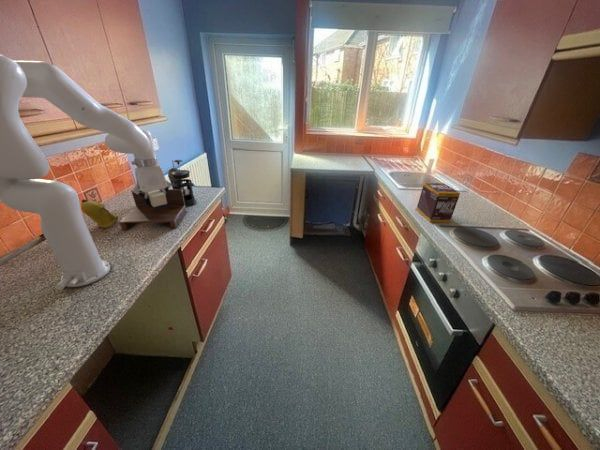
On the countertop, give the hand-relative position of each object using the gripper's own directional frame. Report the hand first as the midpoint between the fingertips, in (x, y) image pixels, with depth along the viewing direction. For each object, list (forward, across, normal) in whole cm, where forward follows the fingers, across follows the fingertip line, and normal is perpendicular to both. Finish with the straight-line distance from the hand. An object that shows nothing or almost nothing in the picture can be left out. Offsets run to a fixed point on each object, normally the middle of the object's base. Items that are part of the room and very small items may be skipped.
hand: (156, 203), depth 108 cm
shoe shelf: (+10, 0, +5) cm, 11 cm away
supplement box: (+9, +101, -86) cm, 133 cm away
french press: (+9, +18, +14) cm, 25 cm away
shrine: (+10, -18, +13) cm, 25 cm away
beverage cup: (+9, +21, +29) cm, 37 cm away
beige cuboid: (+1, 0, +1) cm, 1 cm away
